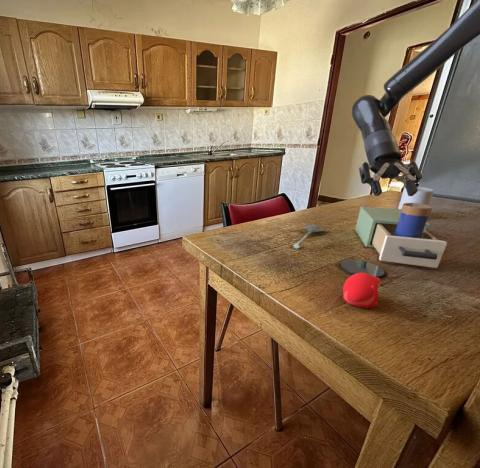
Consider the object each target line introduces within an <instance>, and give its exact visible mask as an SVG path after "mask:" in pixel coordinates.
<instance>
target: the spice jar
mask: <svg viewBox="0 0 480 468" xmlns="http://www.w3.org/2000/svg"><path fill="white" fill-rule="evenodd" d="M432 209H433V206H432V205H430V204H429V205H425V204H419V203H404V204H403V206H402V209H401V214H400V217H399V221H398V224H397V227H396V230H395V233H394V236H400V237H410V238H420V239H421V236H422V234H423V231H424V228H425V225H426V222H427V223H428V219H429V217H430V216H431V212H432Z"/></svg>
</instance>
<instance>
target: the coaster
mask: <svg viewBox="0 0 480 468" xmlns="http://www.w3.org/2000/svg"><path fill="white" fill-rule="evenodd" d="M340 268H342V270H344V271H345V272H347V273H349V274H351V275H354V274H357V273H367V274H370V275H372V276H375V277H378V278H379V279H380V278H383V277H384V276H385V270H384V269H383V268H382V267H380V266H379V265H377V264H375V263H372V262H370V261H365V260H361V259H344V260H342V261H341V262H340Z"/></svg>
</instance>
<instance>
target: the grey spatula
mask: <svg viewBox="0 0 480 468" xmlns="http://www.w3.org/2000/svg"><path fill="white" fill-rule="evenodd" d="M304 228H305V229H306V230H307V232H306V234H304V236H303V237H302V238H301V239H300V240H298V242H297V243H293V248H294V249H300V248H301V247H300V246H301V244H303V242H304V241H305V240H306V239H307V238H308V237H309V236H310V235H311V234H312V233H318V232H325V231H326V229H325V228H324V227H323V226H321V225H317V224H306V225H305V226H304Z"/></svg>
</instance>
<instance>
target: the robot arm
mask: <svg viewBox="0 0 480 468" xmlns="http://www.w3.org/2000/svg"><path fill="white" fill-rule="evenodd" d="M478 36H480V0H475V1H474V2H473V3H472V4H471V5H470V6H469V7H468V8H467V9H466V10H465V12H463V13H462V14H461V16H460V17H458V18H457V19H456V21H454V22H453V23H452V24H451V25H450V26H449V27H448V28H447V29H445V31H444V32H443V33H441V34H440V35H439V36H437V38H436V39H435V40H433V41H432V42H431V43H430V44H429V45H428V46H426V47H425V48H424V49H422V50H421V51H420V52H419V53H418V54H417V55H415V56H414V57H413V58H412V59H411V60H410V61H408V62H407V63H406V64H405V65H404V66H402V67H401V68H400V69H399V70H398V71H396V72H395V73H394V74H393V75H392V76H390V77H389V78H388V79H387V80H386V81H385V82H384V84H383V90H384V94H383V95H382V96H381V98H380V99H379V98H377V97H376V96H374V95H372V94H365V95H362V96H360V97H358V98H357V99H356V100H355V101H354V102H353V104H352V107H351V116H352V119H353V121H354V123H355V124H356V126H357V128H358V129H359V131H360V133H361V138H362V141H363V147H364V152H365V155H366V159H367V161H365V162H363V163H362V164H361V165H360V166H359V168H358V171H359V177H360V182H361V184H363V185H365V184H368V186H370V190H371V193H372V194H373V195H374V196H375V197H380V195H381V194H382V193H383V189H382V185H381V182H380V180H379V179H380V178H381V180H385V179H392V180H393V179H394V180H395V181H397V182H401V183H403V184H404V188H406V190H407V193H408V196H413V195H414V194H416V193H417V191H418V189H417V187H418V186H417V183H418V182H419V181H420V180H422V179H423V175H422V173H421V171H420V168H419V166H418V164H417V162H415V161H411V162H410V163H404V162H403V161H402V152H401V150H400V147H399V144H398V141H397V139H396V136H395V134H394V132H393V130H392V128H391V125H390V123H389V121H388V119H387V118H386V117H387V116H388V115H389V114H390V113H391V112H392V111H393V110H394V109H395V107H396V106H398V104H399V103H400V102H401V101H402V99H403V98H404V97H405V96H407V95H408V94H410V92H412V91H414V89H416V88H417V87H418V86H419V85H420V84H422V83H423V82H424V81H426V80H427V79H428V78H429V77H431V76H432V75H433V74H434V73H435V72H437V71H438V70H439V69H440V68H441V67H442V66H443V65H444V64H445V63H447V62H448V61H449V60H450V59H451V58H453V56H454V55H456V54H457V53H458V52H459V51H461V50H462V49H463V48H464V47H466V46H467V45H468V44H469V43H470V42H472V41H473V40H474V39H476V38H477V37H478ZM370 171H371V172H372V173H373V176H371V172H370ZM401 174H402V175H401Z"/></svg>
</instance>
